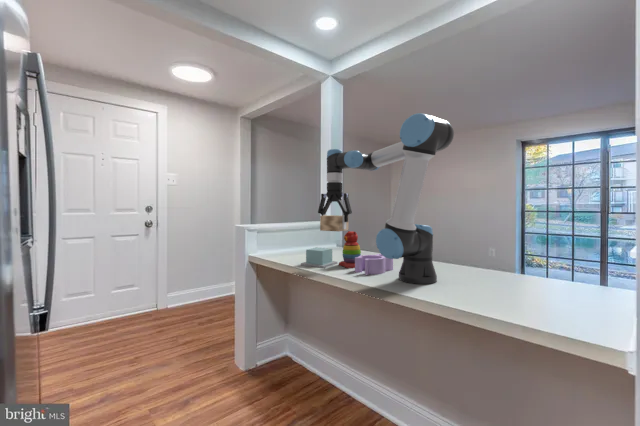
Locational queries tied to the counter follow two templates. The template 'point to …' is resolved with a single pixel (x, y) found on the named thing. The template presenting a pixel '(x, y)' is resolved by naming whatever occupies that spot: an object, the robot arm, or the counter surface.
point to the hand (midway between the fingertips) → (334, 228)
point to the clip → (373, 264)
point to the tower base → (319, 257)
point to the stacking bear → (350, 250)
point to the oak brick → (332, 223)
